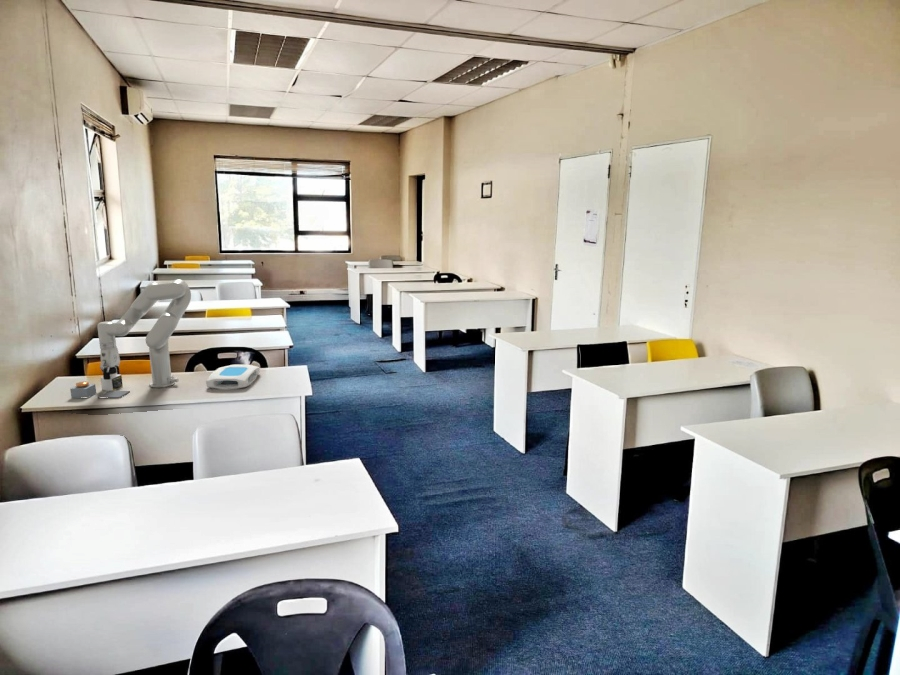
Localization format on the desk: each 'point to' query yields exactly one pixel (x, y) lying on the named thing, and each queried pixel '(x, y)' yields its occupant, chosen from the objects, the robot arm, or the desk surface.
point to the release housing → (83, 391)
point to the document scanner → (233, 376)
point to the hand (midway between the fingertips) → (111, 376)
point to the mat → (114, 394)
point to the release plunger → (82, 384)
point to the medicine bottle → (112, 380)
